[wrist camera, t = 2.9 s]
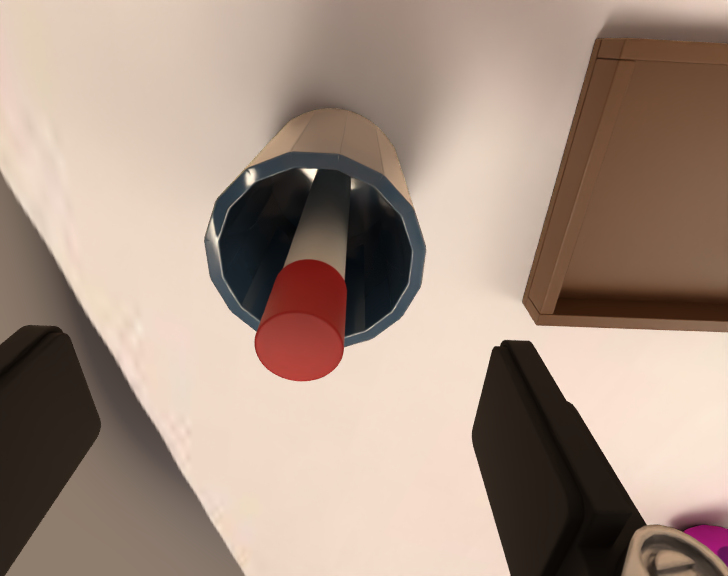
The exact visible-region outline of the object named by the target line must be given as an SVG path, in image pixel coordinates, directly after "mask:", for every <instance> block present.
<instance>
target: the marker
mask: <svg viewBox="0 0 728 576" xmlns="http://www.w3.org/2000/svg"><path fill="white" fill-rule="evenodd" d="M350 192H351V180H350V177H349V176H348V175H346V174H344V173H342V172H339V171H337V170H325V169H320V170H319V171H318V172H317V173H316V175H315V177H314V180H313V183H312V186H311V189H310V192H309V195H308V198H307V200H306V203H305V206H304V209H303V212H302V215H301V218H300V221H299V224H298V227H297V229H296V232H295V235H294V238H293V241H292V244H291V247H290V250H289V253H288V256H287V258H286V261H285V264H284V267H283V269H282V270H281V271H280V272H279V274H278V275H277V277H276V280H275V283H274V285H273V288H272V291H271V294H270V296H269V299H268V302H267V305H266V307H265V310H264V313H263V316H262V319H261V321H260V324H259V327H258V330H257V333H256V336H255V350H256V353H257V356H258V358H259V360H260V361H261V362H262V364H263V365H264V366H265V367H266V368H267V369H268V370H269V371H271V372H272V373H274V374H276V375H278V376H280V377H282V378H285V379H288V380H293V381H311V380H316V379H319V378H322V377H324V376H326V375H327V374H329V373H330V372H332V371H333V370H334V369H335V368H336V367H337V366H338V364H339V363H340V361H341V359H342V356H343V352H344V337H345V319H346V300H347V288H346V284H345V281H344V280H345V265H346V251H347V236H348V221H349V207H350Z"/></svg>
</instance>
